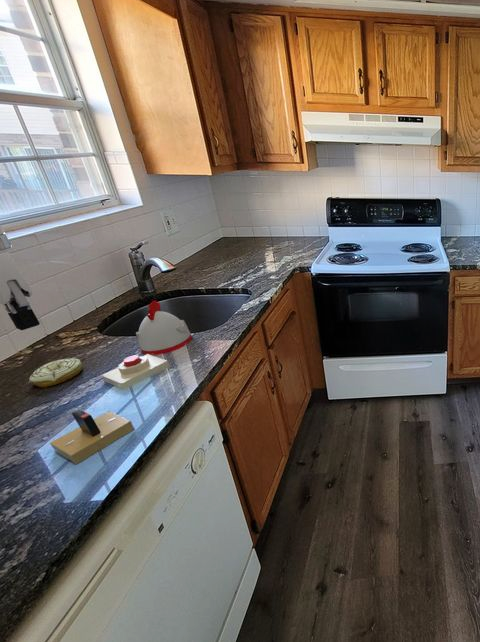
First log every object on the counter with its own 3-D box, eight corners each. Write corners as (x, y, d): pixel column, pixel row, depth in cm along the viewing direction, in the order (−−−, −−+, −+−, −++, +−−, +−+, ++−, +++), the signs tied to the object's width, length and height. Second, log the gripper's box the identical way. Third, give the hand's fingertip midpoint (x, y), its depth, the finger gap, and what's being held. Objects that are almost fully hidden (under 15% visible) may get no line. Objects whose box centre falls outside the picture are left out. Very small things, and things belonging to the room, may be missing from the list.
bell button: (129, 368, 102) (127, 363, 102) (122, 365, 104) (120, 360, 103) (143, 361, 105) (141, 356, 105) (136, 359, 107) (134, 354, 106)
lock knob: (81, 430, 82) (70, 412, 80) (89, 426, 83) (78, 408, 81) (93, 436, 80) (82, 418, 78) (101, 432, 81) (90, 414, 79)
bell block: (124, 390, 99) (118, 378, 98) (104, 381, 103) (98, 370, 101) (170, 366, 109) (165, 355, 107) (150, 359, 113) (145, 348, 111)
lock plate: (76, 464, 77) (70, 455, 75) (54, 451, 80) (48, 442, 79) (135, 429, 86) (130, 420, 84) (113, 418, 89) (108, 410, 88)
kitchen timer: (197, 331, 129) (183, 292, 123) (184, 350, 117) (168, 308, 111) (151, 337, 125) (134, 298, 119) (133, 358, 114) (113, 316, 107)
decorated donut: (22, 389, 101) (15, 378, 99) (59, 367, 110) (53, 356, 109) (60, 388, 101) (53, 377, 99) (93, 366, 110) (88, 355, 109)
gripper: (-62, 247, 72) (-11, 328, 80) (-32, 255, 66) (21, 341, 74) (-8, 238, 78) (35, 314, 86) (25, 244, 73) (68, 325, 80)
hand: (29, 326), depth 80 cm, fingers closed
